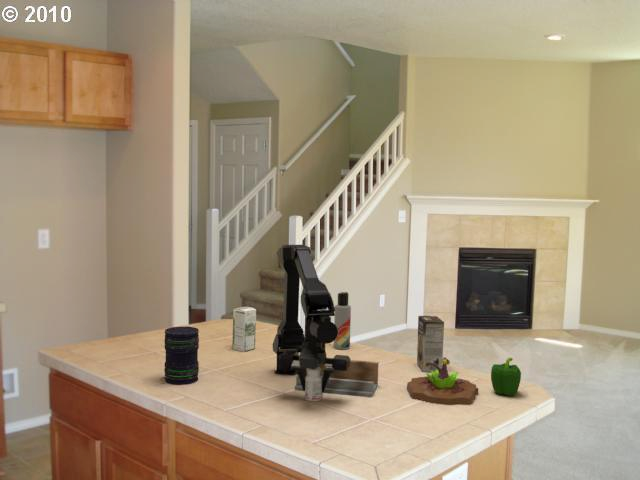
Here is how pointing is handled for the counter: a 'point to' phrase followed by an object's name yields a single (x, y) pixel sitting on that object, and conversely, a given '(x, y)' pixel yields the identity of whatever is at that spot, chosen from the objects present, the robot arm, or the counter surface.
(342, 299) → the lotion bottle
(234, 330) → the syrup box
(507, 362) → the bell pepper
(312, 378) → the pill bottle
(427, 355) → the coffee box
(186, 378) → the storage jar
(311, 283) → the robot arm
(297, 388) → the cleat board
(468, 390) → the plant
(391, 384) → the counter surface
